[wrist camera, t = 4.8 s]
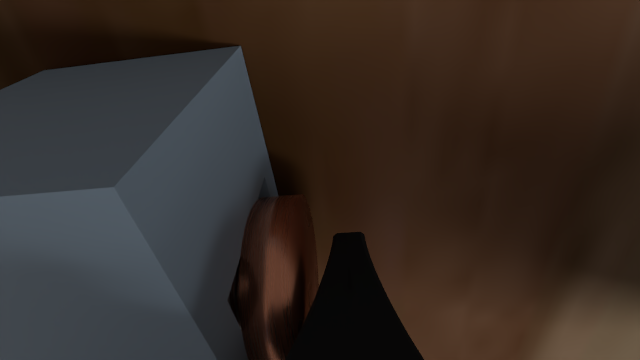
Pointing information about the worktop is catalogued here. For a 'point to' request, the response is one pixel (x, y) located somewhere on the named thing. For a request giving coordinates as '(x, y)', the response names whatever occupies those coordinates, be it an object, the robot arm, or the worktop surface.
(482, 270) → the worktop surface
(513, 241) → the worktop surface
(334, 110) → the worktop surface
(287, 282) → the pin
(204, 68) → the block
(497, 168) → the worktop surface
